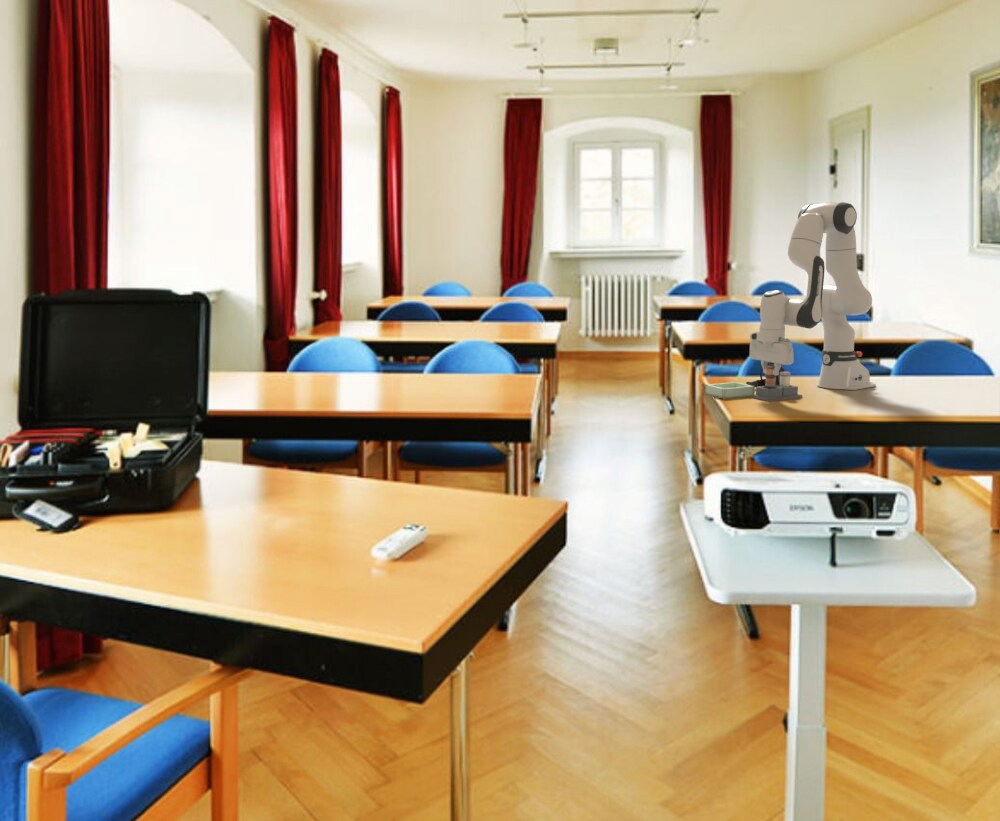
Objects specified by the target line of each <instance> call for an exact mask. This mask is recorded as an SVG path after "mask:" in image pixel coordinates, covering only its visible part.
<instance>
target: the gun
mask: <svg viewBox="0 0 1000 821" xmlns="http://www.w3.org/2000/svg"><path fill="white" fill-rule="evenodd" d="M767 364H774V363H772V362H768V363H767ZM780 372H786V371H785V369H784V367H783V365H782V364H781V368H780V370H779V375H776V385H780ZM762 373H763V368H762V369H761V370H759V377H760V379H757V380H754V381H746V383H745V384H747V385H751V386H755V387H754V389H756V387H759V386H765V380H766V378H763V377H766V373H763V374H762Z"/></svg>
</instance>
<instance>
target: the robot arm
mask: <svg viewBox="0 0 1000 821" xmlns="http://www.w3.org/2000/svg"><path fill="white" fill-rule="evenodd" d="M857 216H858V215H857V210H856V209H855V207H854V205H852V203H849V202H843V201H842V202H833V201H829V202H828V201H827V202H822V203H810V204H806V205H805V206H803V207H802V208H801V209H800V211H799V213H798V217H797V221H796V223H795V225H794V226H793V227H794V228H793V230H792V233H791V236H790V240H789V244H788V247H787V256H788V259H789V260H790V261H791V263H792V264H794V266H796V267H798V268H800V269H802V270H804V271H805V272H806V273H807V277H808V278H807V287H806V288H807V289H806V296H805V298H804V299H797V298H795V299H794V298H790V297H788V296H786V295H785V292H784V291H783V290H780V289H779V290H778V289H777V290H769V291H765V292H764V293H763V294H762V297H761V299H760V300H761V301H760V307H759V319H760V324H759V331H755V332H753V333H750V334H749V339H750V342H749V357H750V359H751V360H756V361H760V363H761V364H760V365H761V367H762V369H763V371H762V373H763V374H765V373H766V365H767V363H768V362H772V363H774V366H775V369H774V370H772V375H775V376H776V375H779V370H780V368H781V364H782V366H790V365H793V363H794V360H795V359H794V357H795V356H794V348H793V343H792V341H791V340H790V339H789V338H786V337H785V336H786V326H789V327H790V326H791V327H799V328H804V329H808V330H809V329H813V328H814V327H817V325H818V324H819V323H820V322H821V323H822V326H823V349H822V353H821V360H822V364H821V367H820V374H819V379H818V382H817V387H820V388H824V389H831V390H847V391H850V390H851V391H857V390H861V389H867V388H872V387H873V388H874V387H877V384H876V383H875V382H873V381H870V379H871V377H870V370H869V369H867V368H866V367H865V366H864V365H863V364H861V363H860V362H859V361H858V359H857V358H861V357H862V356H863V353H862V351H855V350H854V349H855V335H856V334H855V329H854V328H853V326H852V325H851V324H849V322H848V319H847V316H859V315H865V314H866V313H868V312H869V310H870V309H871V307H872V304H873V297H872V294H871V292H870V291H869V289H867V288H866V286H865V285H864V284H863V282H862V280H861V277H860V274H859V271H858V263H857V260H858V259H857V237H856V231H855V225H856V222H857V219H858V218H857ZM824 234H826V236H825V237H826V238H825V261H824V259H823V258H822V257H821V247H822V242H823V238H824ZM825 271H826V272H827V274H828V275H830V276H831V277H832V279H833V282H834V284H826V285H824V280H825Z"/></svg>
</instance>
